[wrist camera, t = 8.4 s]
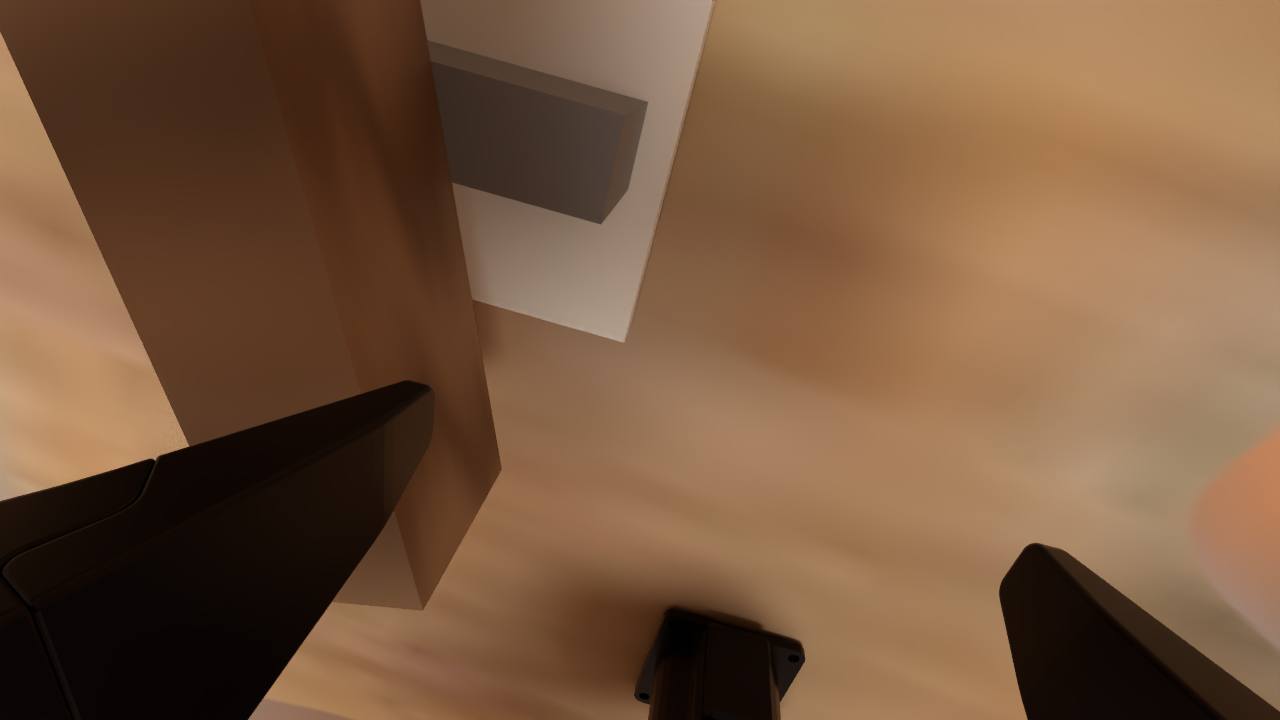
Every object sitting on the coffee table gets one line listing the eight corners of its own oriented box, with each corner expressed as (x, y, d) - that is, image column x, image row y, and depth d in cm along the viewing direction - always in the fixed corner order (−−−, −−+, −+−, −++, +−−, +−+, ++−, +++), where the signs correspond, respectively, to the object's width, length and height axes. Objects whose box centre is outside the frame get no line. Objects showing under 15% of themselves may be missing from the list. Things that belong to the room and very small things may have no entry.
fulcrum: (631, 324, 21) (599, 406, 16) (247, 215, 21) (100, 263, 16) (739, -91, 15) (742, -161, 10) (212, -237, 15) (-31, -374, 10)
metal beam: (501, 469, 17) (422, 610, 13) (374, 461, 18) (257, 594, 14) (301, -687, 8) (-183, -1521, 4) (57, -630, 9) (-609, -1306, 4)
